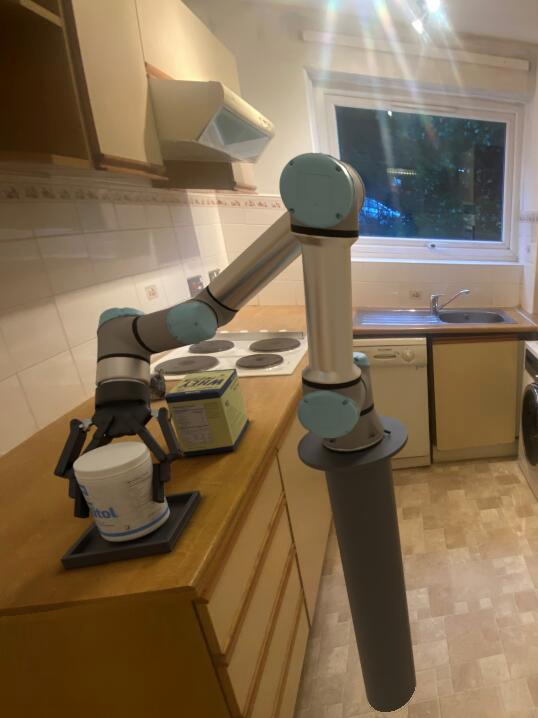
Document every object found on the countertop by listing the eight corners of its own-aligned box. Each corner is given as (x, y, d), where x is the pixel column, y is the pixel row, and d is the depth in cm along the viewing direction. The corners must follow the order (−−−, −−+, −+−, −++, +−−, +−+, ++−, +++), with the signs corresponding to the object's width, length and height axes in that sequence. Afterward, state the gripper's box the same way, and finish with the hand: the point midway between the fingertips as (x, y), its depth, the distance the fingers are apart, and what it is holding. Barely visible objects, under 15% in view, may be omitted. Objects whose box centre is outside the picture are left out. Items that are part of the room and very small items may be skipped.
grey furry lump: (180, 371, 139) (158, 360, 125) (180, 404, 138) (157, 397, 123) (137, 373, 136) (108, 362, 122) (136, 407, 134) (106, 400, 120)
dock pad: (201, 498, 86) (199, 489, 85) (171, 551, 73) (167, 541, 72) (113, 511, 82) (109, 502, 81) (65, 569, 69) (60, 559, 68)
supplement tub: (87, 543, 73) (52, 470, 67) (135, 506, 82) (107, 439, 76) (142, 545, 73) (112, 472, 67) (184, 508, 81) (160, 441, 76)
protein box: (250, 421, 116) (236, 367, 110) (235, 451, 102) (218, 391, 96) (205, 427, 113) (188, 371, 107) (183, 458, 99) (163, 396, 93)
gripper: (202, 386, 87) (206, 497, 80) (57, 404, 79) (48, 529, 71) (188, 370, 80) (192, 489, 73) (29, 388, 72) (16, 524, 65)
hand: (121, 509), depth 72 cm, fingers closed on supplement tub, 10 cm apart
